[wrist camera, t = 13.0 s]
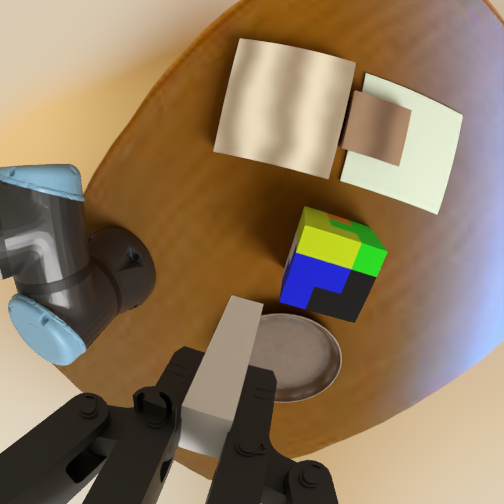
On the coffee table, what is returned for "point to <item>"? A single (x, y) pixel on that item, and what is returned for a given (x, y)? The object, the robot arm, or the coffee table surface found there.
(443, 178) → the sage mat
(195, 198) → the coffee table surface
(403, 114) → the walnut tile
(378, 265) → the puzzle toy
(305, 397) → the plant saucer
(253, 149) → the plate
